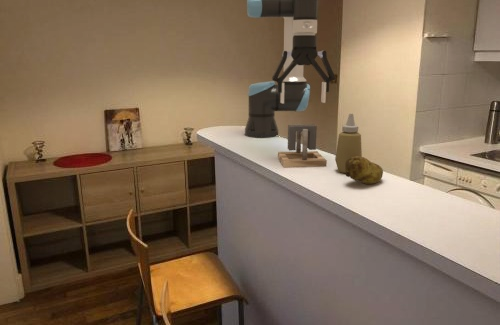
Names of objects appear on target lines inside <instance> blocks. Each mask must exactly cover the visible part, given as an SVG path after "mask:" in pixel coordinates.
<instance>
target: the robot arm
mask: <svg viewBox="0 0 500 325" xmlns="http://www.w3.org/2000/svg"><path fill="white" fill-rule="evenodd" d="M318 9H319V0H246V10H247V11H246V13H247V16H248V17H249V18H257V19H259V18H283V20H284V22H283V24H284V25H283V50H282V54H281V58H280V61H279V63H278V65H277V67H276V68H275V71H274V73H273V75H272V77H271V80H270V81H261V82H256V83H252V84H250V85H248V86H249V87H248V92H247V93H248V94H247V97H248V119H247V120H246V121H247V122H246V125H245V128H244V135H245V136H246V137H252V138H273V137H276V136H278V135H279V127H278V124H277V122H276V119H275V118H276V117H275V114H276V112H303V111H305V110H306V109H307V107H308V105H309V101H310V94H311V86H310V84H308V83H307V79H306V78H305V77H304V66H312V67H313V68H314V69H315V71H316V72H317V73H318V75H319V76H320V77H321V78H322V79H323V81H322V82H321V94H320V95H321V96H320V97H321V98H320V99H321V100H320V102H321V103H323V104H326V102H327V101H326V97H327V93H329V91H330V82H332V81H335V80H336V75H335V73H334V71H333V69H332V67H331V64H330V62H329V59H328V58H327V50H321V51H318V49H317V45H318V44H317V40H318V36H317V35H316V34H317V33H318ZM317 57H319V58H320V59H321V61H322V64H323V66H324V69H325V71H326V73H327V74H326V73H325V71H324V70H323V69H322V68H321V67H320V65H319V64H318V62H317V61H316V58H317ZM282 69H283V72H282V73H281V71H282ZM280 73H281V75H280ZM276 83H277V84H276Z"/></svg>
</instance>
